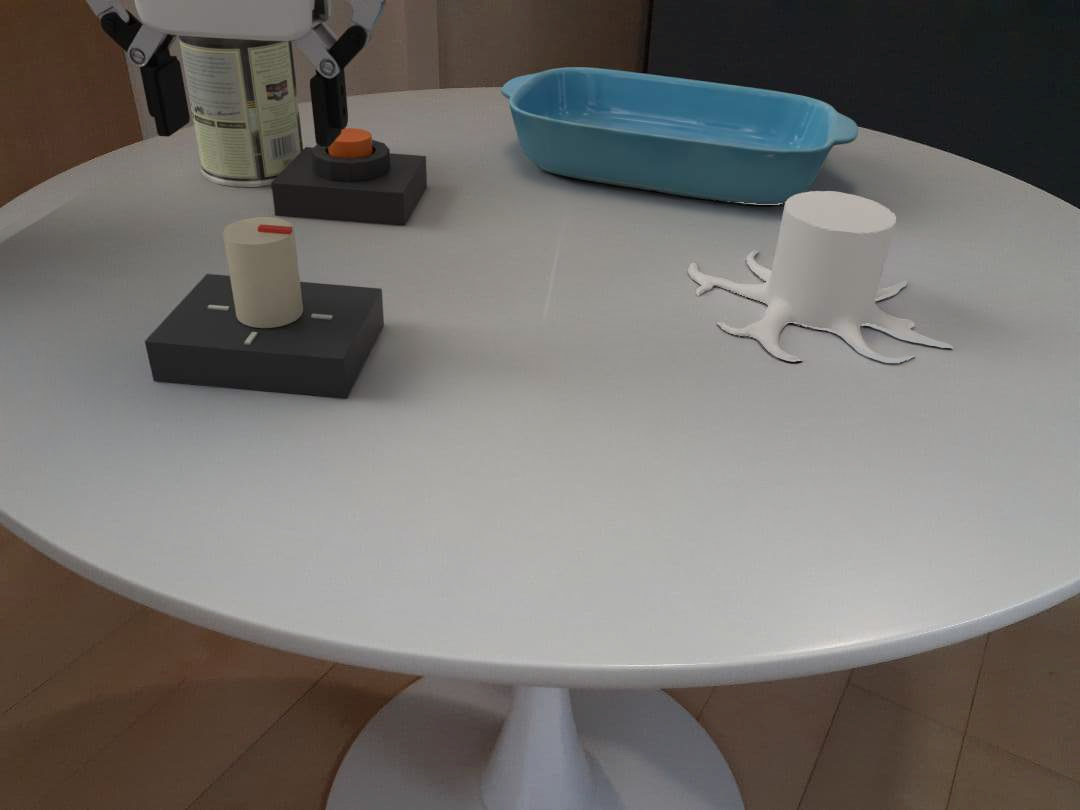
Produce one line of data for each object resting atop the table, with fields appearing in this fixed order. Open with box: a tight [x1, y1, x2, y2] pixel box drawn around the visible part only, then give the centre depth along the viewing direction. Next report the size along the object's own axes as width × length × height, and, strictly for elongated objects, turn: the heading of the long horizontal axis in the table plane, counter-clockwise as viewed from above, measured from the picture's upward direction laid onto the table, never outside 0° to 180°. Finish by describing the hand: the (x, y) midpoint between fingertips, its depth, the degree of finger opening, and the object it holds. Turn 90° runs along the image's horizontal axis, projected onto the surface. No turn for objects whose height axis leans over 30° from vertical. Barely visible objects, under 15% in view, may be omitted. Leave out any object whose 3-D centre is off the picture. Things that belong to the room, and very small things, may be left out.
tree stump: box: [687, 190, 927, 360], centre depth 71 cm, size 20×19×8 cm
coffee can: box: [177, 35, 304, 188], centre depth 89 cm, size 10×10×14 cm
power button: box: [328, 127, 373, 158], centre depth 85 cm, size 4×4×2 cm
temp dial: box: [222, 216, 303, 328], centre depth 61 cm, size 4×4×6 cm
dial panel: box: [144, 273, 385, 399], centre depth 63 cm, size 13×10×3 cm
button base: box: [270, 139, 428, 227], centre depth 86 cm, size 12×10×5 cm
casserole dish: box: [501, 66, 859, 204], centre depth 97 cm, size 37×22×7 cm, turn 74°
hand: (251, 134), depth 56 cm, fingers open, 9 cm apart
